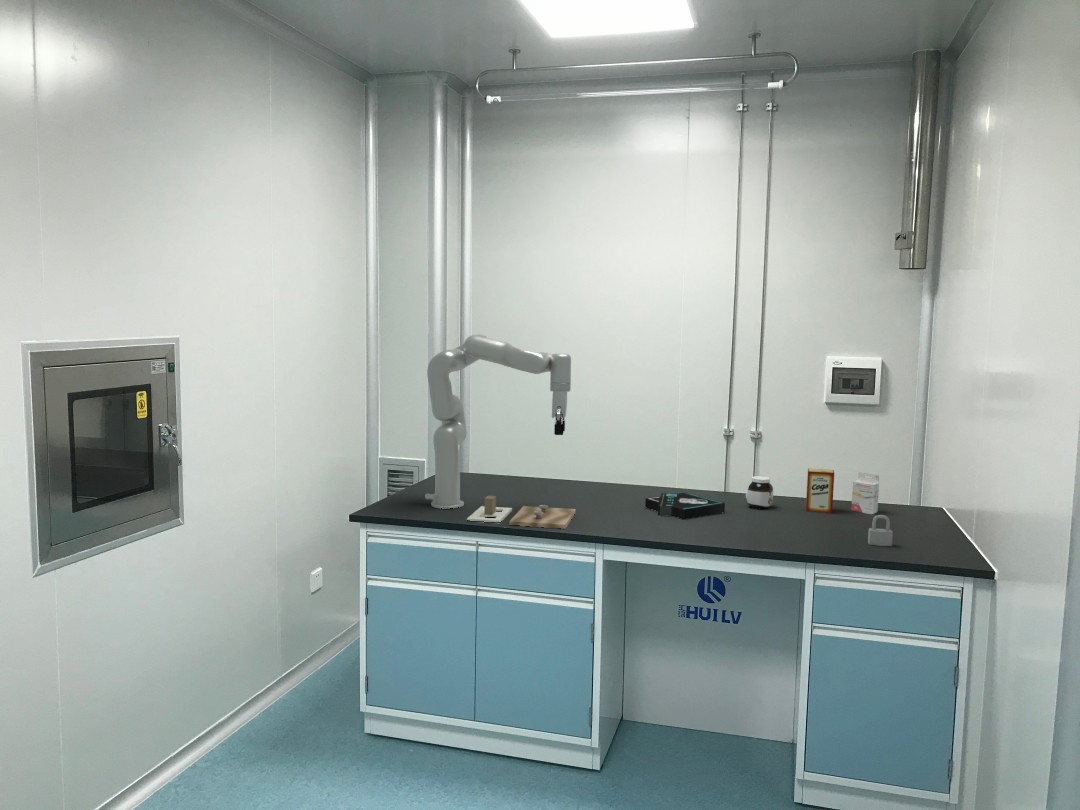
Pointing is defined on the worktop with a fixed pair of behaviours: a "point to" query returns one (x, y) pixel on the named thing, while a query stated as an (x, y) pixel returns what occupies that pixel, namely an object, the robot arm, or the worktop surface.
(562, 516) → the board
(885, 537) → the padlock
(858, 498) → the ink cartridge box
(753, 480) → the spread jar
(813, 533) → the worktop surface
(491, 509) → the panel
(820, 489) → the baking soda box
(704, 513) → the flat black box
